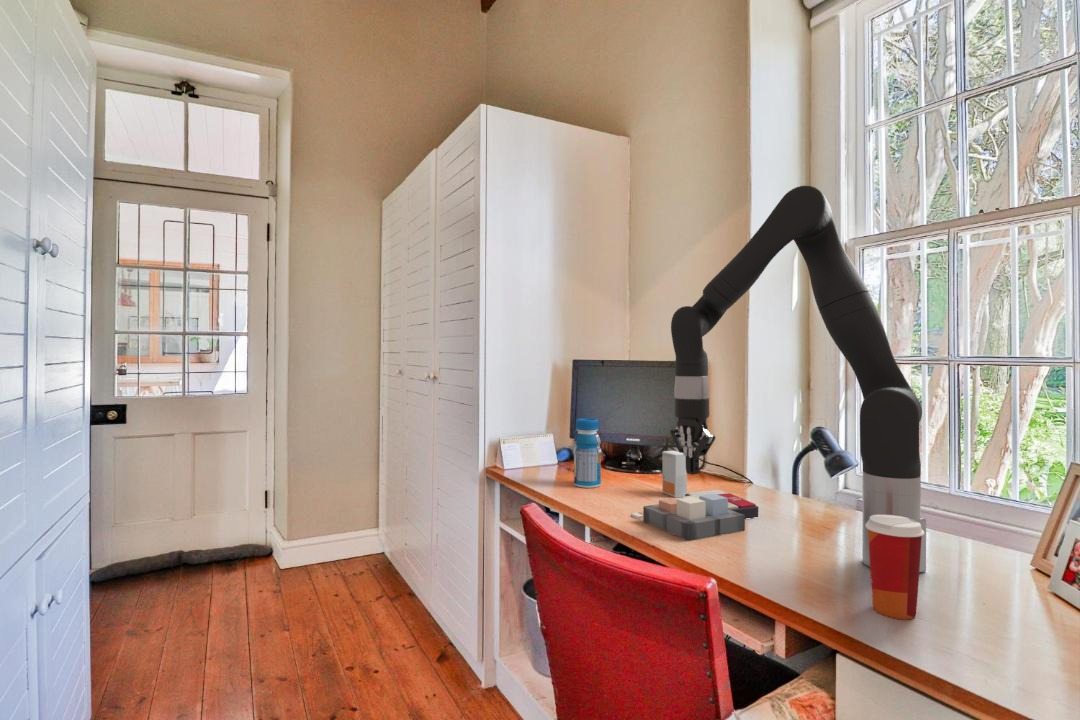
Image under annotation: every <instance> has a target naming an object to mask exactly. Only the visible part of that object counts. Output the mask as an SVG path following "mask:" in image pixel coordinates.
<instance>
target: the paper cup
mask: <svg viewBox="0 0 1080 720" xmlns="http://www.w3.org/2000/svg"><path fill="white" fill-rule="evenodd" d="M865 526H866V528H867V529H868V540H869V556H870V567H869V568H870V569H869V570H870V584H871V586H870V587H871V599H872V606H873V610H874V611H875V612H876V613H878V614H880V615H882V616H885V617H887V618H891V619H895V620H902V621H903V620H905V621H906V620H907V621H908V620H913V619H915V617H916V614H917V608H918V607H917V606H918V595H919V594H918V593H919V584H920V583H919V582H920V581H919V579H920V573H919V569H920V554H921V540H922V536H923V535H924V531H923V530H922V528H921V524H920V523H917V522H916V521H914V520H912V519H909V518H906V517H901V516H895V515H872V516H870V518H869V520H868V522H867V523H866V525H865Z"/></svg>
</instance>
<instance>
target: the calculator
mask: <svg viewBox="0 0 1080 720" xmlns="http://www.w3.org/2000/svg"><path fill="white" fill-rule="evenodd" d="M709 494H716V495H720V496H723V497H726V498H728V509H729V510H732V511H735V512H738V513H741V514H744V515H745V520H747V519H746V518H751V519H754V518H753V517H758V518H759V506H757V505H756V503H754V502H752V501H749V500H748V499H745V498H743V497H739V496H737V495H734V494H732V493H728V492H726V491H723V490H721V489H712V490H703V491H694V492H693V491H692V492H687V494H685V496H691V495H697V496H702V495H709Z"/></svg>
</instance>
